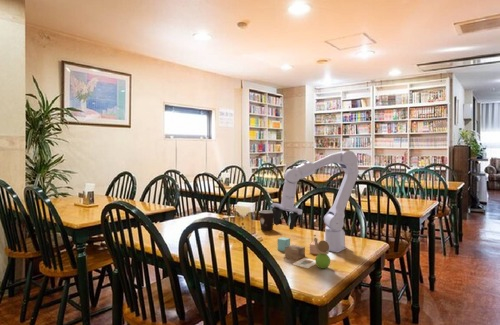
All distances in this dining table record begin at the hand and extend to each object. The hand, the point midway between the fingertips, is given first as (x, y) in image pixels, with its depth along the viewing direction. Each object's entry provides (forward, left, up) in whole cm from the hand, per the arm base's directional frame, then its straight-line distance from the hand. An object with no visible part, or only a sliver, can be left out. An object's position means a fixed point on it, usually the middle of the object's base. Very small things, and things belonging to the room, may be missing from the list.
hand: (284, 227), depth 149 cm
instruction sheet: (+8, +16, -11) cm, 21 cm away
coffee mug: (-25, -28, -11) cm, 39 cm away
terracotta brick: (-6, +12, -11) cm, 17 cm away
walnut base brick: (+4, +8, -11) cm, 14 cm away
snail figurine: (+9, +23, -11) cm, 27 cm away
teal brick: (-1, -1, -11) cm, 11 cm away
